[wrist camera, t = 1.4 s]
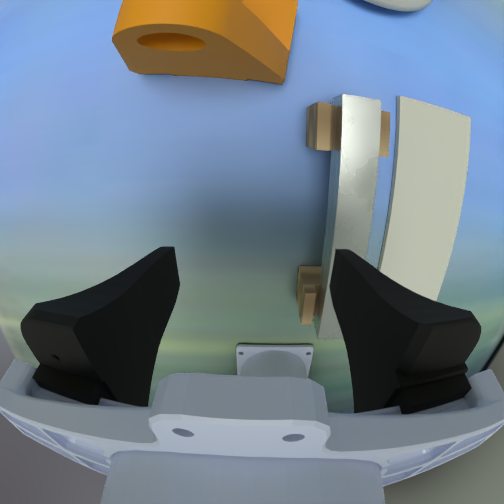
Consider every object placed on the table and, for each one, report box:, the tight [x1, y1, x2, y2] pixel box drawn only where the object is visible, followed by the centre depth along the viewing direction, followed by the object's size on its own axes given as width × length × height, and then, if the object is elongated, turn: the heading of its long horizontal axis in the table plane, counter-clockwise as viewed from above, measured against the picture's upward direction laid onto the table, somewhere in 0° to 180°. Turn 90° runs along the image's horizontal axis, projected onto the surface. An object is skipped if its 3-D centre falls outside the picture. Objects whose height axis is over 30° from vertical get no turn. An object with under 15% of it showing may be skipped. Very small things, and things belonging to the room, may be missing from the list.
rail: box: [313, 94, 381, 339], centre depth 18 cm, size 17×2×2 cm, turn 0°
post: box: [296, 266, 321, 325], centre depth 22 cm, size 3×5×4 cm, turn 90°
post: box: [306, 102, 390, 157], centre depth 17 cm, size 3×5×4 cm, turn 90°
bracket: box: [112, 0, 298, 85], centre depth 10 cm, size 11×7×12 cm, turn 81°
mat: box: [377, 96, 471, 301], centre depth 21 cm, size 20×8×1 cm, turn 0°
